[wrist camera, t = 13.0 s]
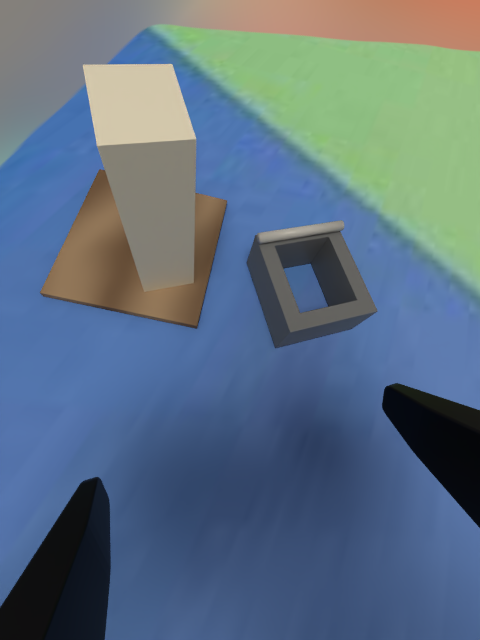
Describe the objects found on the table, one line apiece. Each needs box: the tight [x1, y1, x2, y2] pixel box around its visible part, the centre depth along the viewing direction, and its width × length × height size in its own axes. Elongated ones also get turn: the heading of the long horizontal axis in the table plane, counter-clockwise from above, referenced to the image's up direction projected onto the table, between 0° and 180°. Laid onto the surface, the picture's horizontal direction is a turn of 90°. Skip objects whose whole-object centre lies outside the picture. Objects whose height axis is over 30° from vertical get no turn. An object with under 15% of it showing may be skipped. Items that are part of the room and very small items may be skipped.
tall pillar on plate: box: [83, 64, 196, 292], centre depth 19 cm, size 5×4×13 cm
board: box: [40, 169, 227, 328], centre depth 26 cm, size 12×13×1 cm
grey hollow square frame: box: [247, 221, 377, 348], centre depth 24 cm, size 8×7×5 cm
